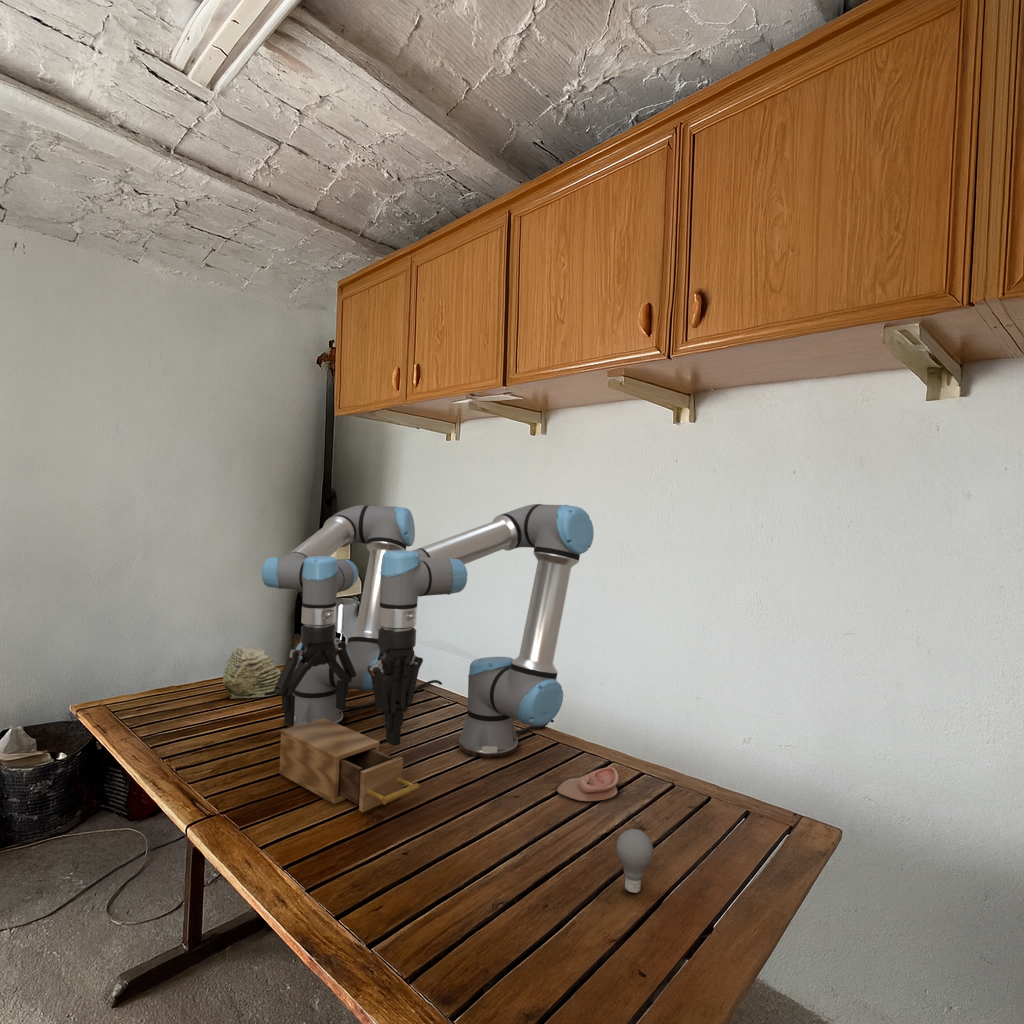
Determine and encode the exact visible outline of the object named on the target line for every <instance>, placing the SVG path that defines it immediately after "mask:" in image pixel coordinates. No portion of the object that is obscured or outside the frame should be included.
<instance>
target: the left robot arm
mask: <svg viewBox="0 0 1024 1024" xmlns="http://www.w3.org/2000/svg"><path fill="white" fill-rule="evenodd" d="M415 535H416V528H415V520H414V516H413V514H412V512H411V510H410V509H409V508H407V507H401V506H397V505H394V506H389V505H386V506H385V505H367V504H361V505H353V506H351V507H348V508H345V509H343V510H340V511H338V512H336V513H334V514H332V516H330V517H329V518H328V519H326V520H325V521H324V523H323V526H322V528H320V529H319V530H317V531H316V532H315V533H314V534H312V535H311V536H310V537H308V538H307V539H305V540H304V541H303V542H302V543H301V544H299V545H297V546H296V547H295V548H294V549H293V550H292V551H290V552H289V553H288V554H287V555H285V556H284V557H283V556H282V557H280V556H275V557H274V556H271V557H268V558H267V559H265V560H264V563H263V565H262V568H261V580H262V582H263V584H264V586H266V587H267V588H274V589H278V590H281V589H283V590H300V591H302V602H301V619H300V620H301V621H300V623H301V624H302V626H301V627H300V642H299V643H298V644H297V645H296V647H295V649H293V648H290V649H288V652H287V658H286V661H285V664H284V665H283V667H282V670H281V671H280V672H281V674H280V677H279V679H278V681H277V683H276V686H275V688H274V693H276V695H279V696H281V709H282V710H283V711H284V714H283V715H284V718H283V723H285V726H286V728H291V727H295V726H298V725H302V724H305V723H309V722H312V721H316V720H319V719H323V718H325V719H327V720H330V721H332V722H334V723H337V724H339V725H342V723H343V722H344V713H343V711H346V710H357V709H364V708H367V707H372V706H376V704H375V700H374V701H371V702H367V703H364V704H358V705H357V704H356V705H346V704H347V695H348V694H349V690H359V691H364V692H368V691H373V685H372V679H371V676H370V674H369V672H368V670H367V668H368V666H369V665H371V666H373V665H374V664H375V663H376V662H377V661H378V655H379V653H380V648H379V646H378V630H379V629H380V628H381V626H379V606H380V578H381V575H380V571H381V562H382V556H383V554H384V553H385V552H387V551H393V550H399V551H402V550H403V551H407V547H408V548H409V547H412V546H413V545H414V542H415V537H416V536H415ZM351 544H366V545H365V546H366V547H365V548H366V549H367V550H368V551H369V558H368V563H367V568H366V573H365V580H364V584H363V589H362V594H361V599H360V604H359V608H358V609H359V610H358V614H357V620H356V625H355V630H354V632H353V633H352V634H350V635H349V636H348V638H347V642H346V641H343V640H341V639H339V638H338V637H336V631H337V630H336V628H337V627H336V625H335V623H336V620H337V618H336V617H337V596H338V595H337V594H339V593H341V592H345V591H348V590H349V589H351V588H352V587H353V586H354V585H355V584H356V583H357V582H358V579H359V569H358V567H357V565H356V564H355V563H354V562H353V561H352V560H349V559H339V558H338V559H337V558H336V557H335V556H333V555H334V554H335V553H336V552H337V551H338V550H339V549H341V548H346V547H348V546H349V545H351ZM382 670H383V669H382ZM382 674H383V673H382ZM430 684H438V685H441V686H442V685H443V682H442V681H440V680H438V679H432V680H428V681H426V682H424V683H421V684H419V685H417V686H415V691H414V693H415V692H416V691H418V690H419V689H420V688H423V687H425V686H428V685H430Z"/></svg>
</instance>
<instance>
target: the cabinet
mask: <svg viewBox="0 0 1024 1024" xmlns="http://www.w3.org/2000/svg"><path fill="white" fill-rule="evenodd" d="M380 745H381V742H380V741H379V740H377V739H374V738H372V737H371V736H370V737H369V736H367V735H365V734H363V733H361V732H358V731H356V730H353V729H351V728H349V727H347V726H344V725H342V724H340V725H339V724H337V723H334V722H332V721H330V720H327V719H325V718H323V719H319V720H316V721H312V722H309V723H305V724H302V725H298V726H295V727H291V728H288V727H286V728H284V729H282V730H280V747H279V749H280V750H279V771H278V773H279V775H281V776H283V777H284V778H286V779H287V780H290V781H292V782H293V783H296V784H297V785H299V786H300V787H302V788H304V789H306V790H308V791H310V792H312V793H313V794H315V795H317V796H318V797H319V798H320V797H321V798H322V799H324V800H326V801H328V802H329V803H331V804H333V805H335V804H338V803H340V802H343V801H346V800H348V799H347V798H345V797H343V796H341V795H339V794H338V787H339V762H340V760H341V759H343V758H346V757H349V756H352V755H355V754H358V753H361V752H363V751H366V750H369V749H374V750H377V751H379V752H380Z"/></svg>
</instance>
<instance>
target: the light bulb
mask: <svg viewBox="0 0 1024 1024" xmlns="http://www.w3.org/2000/svg"><path fill="white" fill-rule="evenodd" d="M615 849H616V854H617V857H618V859H619V861H620V863H621V865H622V867H623V873H624V874H623V875H624V876H625V878H624V888H625V890H627V891H628V892H630V893H634V894H635V893H639V892H640V891H641V889H642V887H641V886H642V879H643V877H644V875H645V871H646V868H647V867H648V866H649V864H650V863H651V861H652V859H653V855H654V847H653V843H652V841H651V838H649V836H648V835H647V834H646V833H645V832H643V831H642V830H641V829H636V828H629V829H627V830H625V831H623V832H622V833H621V834H620V835H619V837H618V839H617V841H616V847H615Z"/></svg>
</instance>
